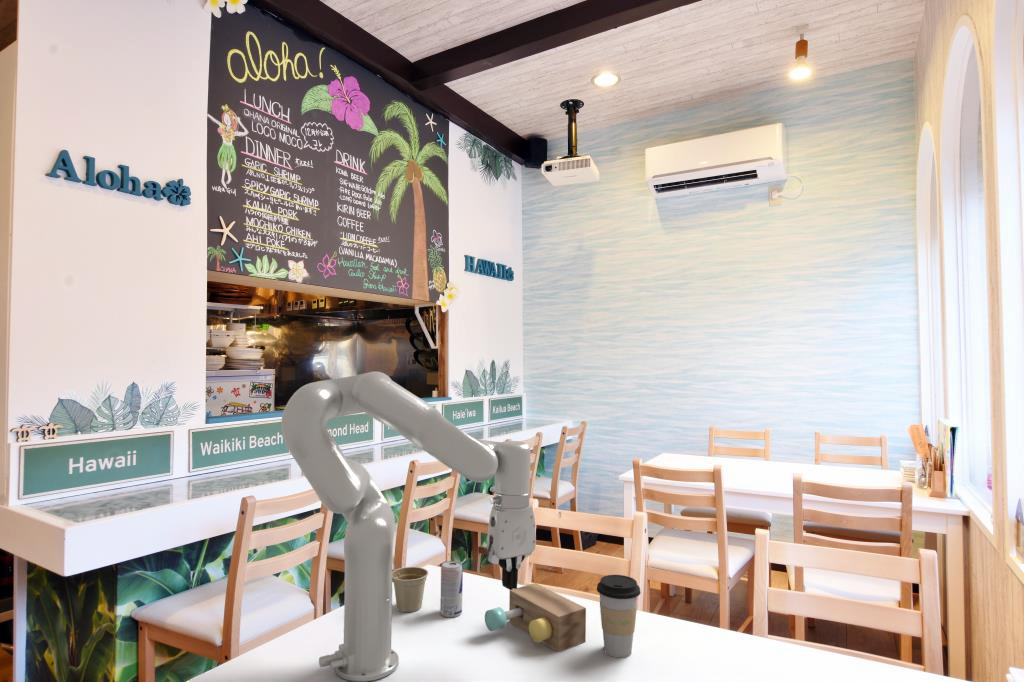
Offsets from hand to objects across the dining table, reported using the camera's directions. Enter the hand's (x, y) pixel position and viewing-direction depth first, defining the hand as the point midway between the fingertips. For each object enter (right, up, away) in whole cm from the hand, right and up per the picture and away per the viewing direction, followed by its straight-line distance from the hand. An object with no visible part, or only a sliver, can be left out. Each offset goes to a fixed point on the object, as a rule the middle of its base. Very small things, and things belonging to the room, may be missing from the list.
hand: (509, 587), depth 127 cm
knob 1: (0, -14, +12) cm, 18 cm away
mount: (+8, -15, +12) cm, 21 cm away
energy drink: (-15, -15, +21) cm, 30 cm away
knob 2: (+10, -14, +7) cm, 18 cm away
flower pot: (-26, -15, +24) cm, 38 cm away
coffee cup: (+24, -15, +3) cm, 28 cm away
